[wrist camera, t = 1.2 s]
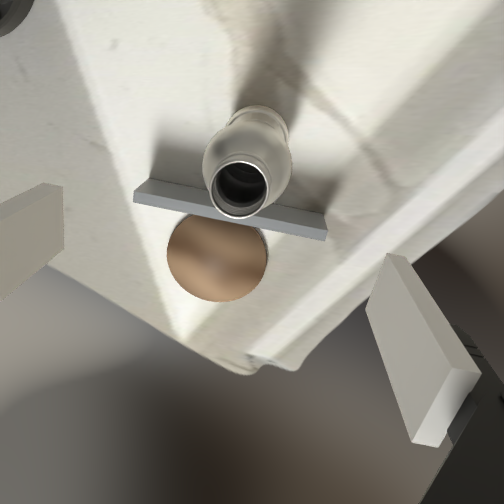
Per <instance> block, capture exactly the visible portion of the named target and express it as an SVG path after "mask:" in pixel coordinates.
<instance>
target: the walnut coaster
mask: <svg viewBox="0 0 504 504" xmlns="http://www.w3.org/2000/svg"><path fill="white" fill-rule="evenodd" d="M167 261H168V265H169V268H170V271H171V273H172V275H173V277H174V278H175V280H176V281H177V282H178V283H179V285H180V286H181V287H182V288H184V289H185V290H186V291H187V292H189V293H190V294H192V295H194V296H196V297H198V298H201V299H204V300H207V301H213V302H228V301H233V300H236V299H239V298H241V297H243V296H245V295H247V294H248V293H250V292H251V291H252V290H253V289H254V288H255V287H256V286H257V285H258V284H259V282H260V281H261V279H262V277H263V275H264V271H265V267H266V250H265V246H264V243H263V241H262V239H261V237H260V235H259V234H258V232H257V231H256V230H255V229H254V227H252V226H247V225H242V224H238V223H233V222H228V221H223V220H218V219H213V218H208V217H203V216H198V215H192V216H190V217H188V218H186V219H185V220H184V221H182V222H181V223H180V224H179V225H178V226H177V228H176V229H175V230H174V232H173V234H172V235H171V237H170V240H169V243H168V247H167Z"/></svg>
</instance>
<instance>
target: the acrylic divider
mask: <svg viewBox="0 0 504 504" xmlns="http://www.w3.org/2000/svg"><path fill="white" fill-rule="evenodd" d="M133 202H135V203H139V204H144V205H149V206H154V207H159V208H164V209H169V210H174V211H179V212H184V213H189V214H193V215H198V216H203V217H208V218H213V219H218V220H223V221H228V222H233V223H238V224H242V225H247V226H252V227H257V228H262V229H267V230H272V231H277V232H282V233H287V234H292V235H296V236H301V237H306V238H311V239H316V240H321V241H325V239H326V235H327V232H328V229H327V226H326V222H325V219H324V215H323V214H321V213H316V212H311V211H306V210H301V209H297V208H292V207H287V206H282V205H277V204H270V205H268V206H267V207H265V208H263V209H261V210H260V211H259V212H258V213H256V214H255V215H253V216H251V217H248V218H244V219H234V218H229V217H227V216H225V215H223V214H222V213H220V212H219V211H218V210H217V209H216V208H215V206H214V205H213V203H212V201H211V199H210V194H209V191H208V190H204V189H199V188H194V187H189V186H185V185H180V184H175V183H170V182H165V181H160V180H155V179H151V178H148V179H147V180H146V181H145V182H144V183H143V184H141V185H140V186H139V187H138V188H137V189H136V190H134V196H133Z"/></svg>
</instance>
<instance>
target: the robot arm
mask: <svg viewBox="0 0 504 504" xmlns="http://www.w3.org/2000/svg"><path fill="white" fill-rule="evenodd" d="M33 2H34V0H0V37H2V36H4V35H6V34H8V33H10V32H11V31H13V30H14V29H15V28H16V27H17V26H18V25H19V24H20V23H21V22H22V21H23V20H24V19H25V17H26V16H27V14H28V12H29V11H30V9H31V6H32V4H33ZM63 249H64V222H63V187H62V186H57V185H52V184H47V183H42V184H40V185H38V186H36V187H34V188H32V189H30V190H28V191H26V192H24V193H21V194H19V195H17V196H15V197H13V198H11V199H9V200H7V201H5V202H3V203H1V204H0V302H1V301H2V300H4V299H5V298H6V297H7V296H8V295H9V294H11V293H12V292H13V291H14V290H15V289H17V288H18V287H19V286H20V285H21V284H22V283H24V282H25V281H26V280H27V279H29V278H30V277H31V276H32V275H33V274H34V273H35V272H37V271H38V270H39V269H40V268H42V267H43V266H44V265H45V264H46V263H48V262H49V261H50V260H51V259H52V258H54V257H55V256H56V255H57V254H58V253H60V252H61V251H62V250H63ZM366 313H367V316H368V318H369V321H370V324H371V327H372V330H373V332H374V336H375V339H376V341H377V344H378V347H379V350H380V353H381V356H382V359H383V361H384V364H385V367H386V370H387V373H388V376H389V379H390V382H391V384H392V387H393V390H394V393H395V396H396V399H397V402H398V405H399V407H400V411H401V413H402V416H403V419H404V422H405V425H406V428H407V431H408V434H409V436H410V439H411V442H412V443H417V444H423V445H428V446H433V447H439V445H440V444H441V442H442V440H443V439H444V437H445V435H446V434H447V432H448V435H449V437H450V439H451V441H452V443H453V447H452V448H451V450H450V452H449V453H448V455H447V457H446V458H445V460H444V461H443V463H442V465H441V466H440V468H439V469H438V471H437V473H436V475H435V477H434V478H433V480H432V482H431V483H430V485H429V487H428V488H427V490H426V492H425V493H424V495H423V497H422V499H421V500H420V502H419V503H418V504H504V384H503V383H502V381H501V380H500V379H499V377H498V376H497V374H496V373H495V371H494V370H493V369H492V367H491V366H490V364H489V363H488V361H487V360H486V359H484V356H483V354H482V353H481V351H480V350H479V349H477V348H478V347H477V346H476V344H475V343H474V341H473V340H472V339H471V337H470V336H469V335H468V334H467V333H465V332H464V331H463V330H462V329H461V328H460V327H458V326H457V325H452V324H449V323H448V321H447V320H446V318H445V317H444V315H443V313H442V312H441V310H440V309H439V307H438V306H437V304H436V303H435V301H434V300H433V298H432V297H431V295H430V294H429V292H428V290H427V289H426V288H425V286H424V285H423V283H422V281H421V280H420V278H419V277H418V275H417V274H416V272H415V271H414V269H413V268H412V266H411V265H410V263H409V261H408V260H407V258H406V257H404V256H399V255H395V254H390V253H387V254H386V256H385V259H384V262H383V264H382V267H381V270H380V272H379V275H378V277H377V280H376V283H375V285H374V288H373V290H372V293H371V296H370V299H369V301H368V304H367V306H366Z"/></svg>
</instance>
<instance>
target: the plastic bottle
mask: <svg viewBox="0 0 504 504" xmlns="http://www.w3.org/2000/svg"><path fill="white" fill-rule="evenodd" d="M288 141H289V135H288V129H287V126H286V123H285V122H284V120H283V118H282V117H281V116H280V115H279V114H278V113H277V112H276V111H274V110H273V109H271V108H269V107H266V106H262V105H252V106H247V107H245V108H242V109H240V110H239V111H237V112H236V113H235V114H234V115H233V116H232V117H231V118H230V119H229V121H228V123H227V124H226V127H225V128H223V129H222V130H220V131H219V132H218V133H217V134H216V135H215V136H214V137H213V138H212V139H211V141H210V142H209V144H208V145H207V147H206V150H205V153H204V156H203V161H202V173H203V178H204V182H205V184H206V186H207V189H208V191H209V194H210V199H211V201H212V203H213V205H214V206H215V208H216V209H217V210H218V211H219V212H220V213H222V214H223V215H225V216H227V217H229V218H234V219H244V218H248V217H251V216H253V215H255V214H256V213H258V212H259V211H260V210H261V209H263V208H265V207H267V206H268V205H270V204H272V203H273V202H275V201H276V200H277V199H278V198H279V197H280V196H281V195H282V193H283V192H284V191H285V189H286V187H287V185H288V183H289V180H290V177H291V173H292V159H291V154H290V151H289V148H288Z"/></svg>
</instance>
